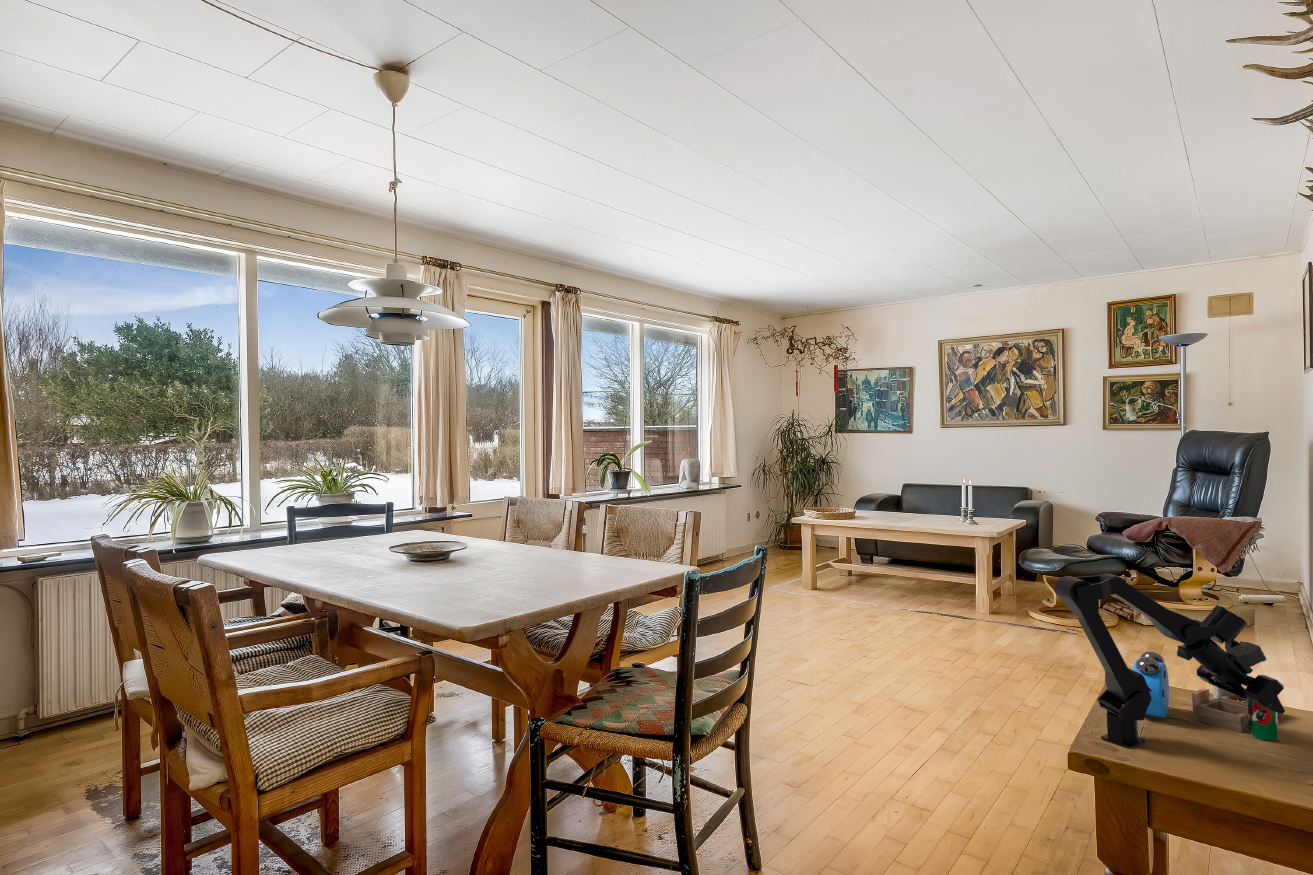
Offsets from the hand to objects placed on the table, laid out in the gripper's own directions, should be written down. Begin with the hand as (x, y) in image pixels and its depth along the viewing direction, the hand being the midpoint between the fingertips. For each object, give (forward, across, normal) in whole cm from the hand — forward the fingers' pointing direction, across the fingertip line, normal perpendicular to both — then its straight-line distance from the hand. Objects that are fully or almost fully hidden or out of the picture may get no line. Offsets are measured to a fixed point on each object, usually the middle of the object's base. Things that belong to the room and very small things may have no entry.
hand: (1265, 704), depth 159 cm
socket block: (+7, +11, +3) cm, 14 cm away
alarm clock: (-6, +15, +16) cm, 23 cm away
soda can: (+5, 0, +6) cm, 8 cm away
